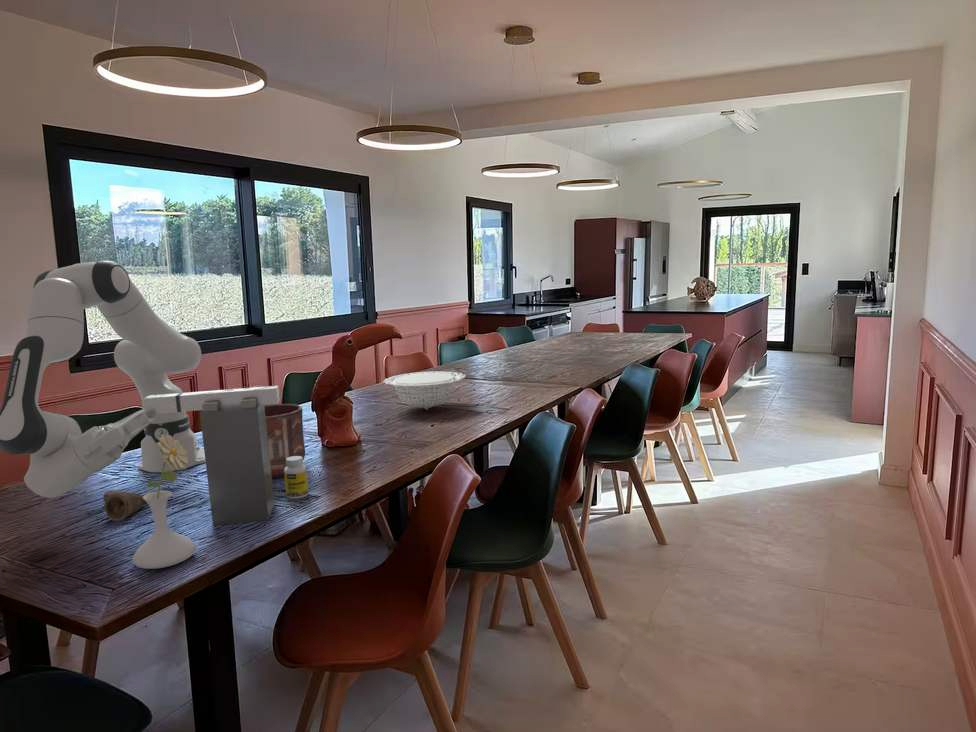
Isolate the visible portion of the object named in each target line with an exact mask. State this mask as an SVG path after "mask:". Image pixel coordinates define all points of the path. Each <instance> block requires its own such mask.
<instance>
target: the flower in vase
mask: <svg viewBox="0 0 976 732" xmlns="http://www.w3.org/2000/svg"><path fill="white" fill-rule="evenodd" d="M159 441H160V442H158V446H159V447H158V449H159V451H160V455H161V456H163V461H164V464H163V467H162V472H160V473H161V474H160V478H159V482H155V481H151V480H148V481H147V485H146V487H147V488H157V490H156V491H152V492H149V493H145V495H142V496H143V499H144V500H145V501H146V502H147V504H148V506H149V508H150V510H151V513H152V517H153V521H154V522H153V523H154V530H153V533H152V534H151V535H150V537H148V539H147V540H145V541H144V542H143V544H141V546H139V547H138V548H137V549H136V550H135V552H134V554H133V556H132V559H131V560H132V563H133V565H134V566H135V567H137V568H141V569H146V570H147V569H149V570H153V569H155V570H157V569H163V568H167V567H171V566H174V565H177V564H180V563H181V562H184V561H185V560H187V559H189V558H190V557H192V556H193V554H194V553H195V552H196V549H197V546H196V544H195V543H194V541H193V540H192V539H190V538H189V537H187V536H185V535H182V534H181V533H178V532H175V531H173V530H172V529H171V528H170V527H169V524H168V520H167V507H168V506H167V505H168V500H169V498H170V496H171V495H172V492H171V490H161V486H162V484H163V482H162V481H163V480H165V481H166V482H168V483H173V482H175V480H177V478H178V474H177V473H176V472H175V471H171V470H166V471H165V472H163V471H164V467H165V464H166V463H167V464H168V465H170V466H171V468H172V469H174V468H176V469H177V470H176V471H178V470H179V468H180V470H186V469H187V468H186V467H185V465H184V463H186V464H188V463H189V462H188V457H186V456H185V455H187V451H186V450H184V448H183V446H181V445H180V442H179V441H178V440H176V441H175V440H174V439H173V438H172V436H169V435H168V434H167V435H166V436H165V437H164V436H163V435H161V438H159ZM180 470H179V471H180Z"/></svg>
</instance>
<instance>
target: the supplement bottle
mask: <svg viewBox="0 0 976 732" xmlns="http://www.w3.org/2000/svg"><path fill="white" fill-rule="evenodd" d="M303 462H304V460H303V458H302V457H301V456H292V457H288V458H286V465H287V467H286V468H285V469H284V476H285V477H284V484H285V496H286V498H287V499H290V500H297V499H302V498H305V497H307V496H308V495H309V484H308V483H309V482H308V471H307V467H306V465H305V464H304V463H303Z"/></svg>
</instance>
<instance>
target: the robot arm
mask: <svg viewBox="0 0 976 732" xmlns="http://www.w3.org/2000/svg"><path fill="white" fill-rule="evenodd" d="M94 307H96V308H97V309H98V310H99V312H100V313H101V315H102V316H103V318H105V320H106V322H107V323H108V325H110V327H111V329H112V330H113V331H114V332H115V333H116V334H117V336H119V337H120V338H121V339H122V340H120V341H119V342H118V343H117V344H116V346H115V348H114V350H113V360H114V362H115V364H116V367H118V369H120V370H121V371H123V372H124V373H125V374H126V375H128V377H130V379H131V381H132V382H133V384H134V385H135V388H136V389H137V391H138V392H139V395H140V398H141V399H140V400H141V404H142V409H140V410H137V411H135V412H133V413H132V414H130V415H128V416H126V417H123V418H122V419H120V420H118V421H116V422H113V423H112V422H110V423H108V424H105V425H99V426H96V425H95V426H92V427H91V428H89V429H87V430H86V431H85V432H83V431H82V429H81V426H80V424H79V423H78V421H77V420H76V419H75V418H73V417H70V416H68V415H64V414H60V413H56V412H49V411H44V410H42V409H41V408H40V406H39V398H40V392H41V386H42V381H43V376H44V371H45V369H46V368H47V367H48V366H49V365H50V364H53V363H58V362H63V361H65V360H69V359H71V358H73V357H74V356H75V355H77V353H79V351H80V350H81V349H82V345H83V343H84V338H85V337H84V336H85V335H84V334H85V331H84V330H85V314H84V310H87V309H90V308H94ZM201 359H202V350H201V347H200V345H199V343H198V341H197V340H195V339H194V338H193V337H189V336H187V335H185V334H183V333H181V332H179V331H178V330H176V329H175V328H173V327H171V326H170V325H169V324H168V323H166V322H165V321H164V320H163V319H162V318H160V317H159V316H158V314H156V312H155V311H154V309H153V308H152V307H151V306H150V304H149V303H148V301H147V300H146V299H145V297H144V296H143V294H142V292H141V291H140V290H139V289H138V288H137V285H135V283H134V282H133V281H132V280H131V279H130V277H129V274H128V272H127V270H126V269H125V267H123V266H122V265H121V264H119V263H118V262H116V261H112V260H98V261H89V262H81V263H74V264H72V265H67V266H63V267H59V268H57V269H56V268H55V269H54V268H52V269H48V270H46V271H43V272H41V273H40V274H38V276H37V277H36V279H35V281H34V284H33V290H32V293H31V296H30V301H29V306H28V312H27V321H26V332H25V335H24V337H23V338H22V339H21V340H19V341H18V343H17V344H16V346H15V349H14V351H13V354H12V359H11V360H10V367H9V371H8V374H7V375H8V376H7V380H6V384H5V390H4V395H3V400H2V403H1V407H0V450H1V451H2V452H3V453H5V454H8V455H22V456H23V455H25V456H26V455H30V461H29V467H28V470H27V471H26V472H25V475H24V477H23V481H24V483H25V485H26V486H27V488H28V489H29V490H30V491H31V492H32V493H35V494H36V495H37V496H39V497H40V496H41V497H42V498H49V499H50V498H51V499H53V498H57V497H59V496H61V495H64V494H66V493H67V492H69V491H72V490H73V489H75V488H77V487H78V486H79V485H80V486H81V484H84V483H85V481H87V479H88V478H89V477H91V476H92V475H93V474H96V473H99V472H101V471H103V470H104V469H106V468H107V467H108V466H111V464H113V463H115V462H116V461H118V460H119V459H120V458H121V456H122V454H123V452H124V450H125V449H126V448H127V446H128V445H129V442H130V441H131V440H133V439H134V438H135V437H136V436H137V435H138V434H140V433H141V432H142V431H143V430H144V435H145V437H144V438H143V439H142V440H141V441H140V448H141V449H140V451H141V463H139V464H138V465H137V470H143V471H146V472H148V473H161V472H162V467H163V464H164V461H163V456H161V455H160V451H159V449H158V447H159V446H158V442H160V441H159V438H161V435H163V436H164V437H165V436H166V435H167V434H168V435H169V436H172V438H173V439H174V440H175V441H176V440H178V441H179V442H180V445H181V446H183V448H184V450H186V451H187V455H185V456H186V457H188V462H189V463H188V464H186V463H184V465H185V467H186V469H187V468H191V467H193V466H197V465H201V464H204V463H206V461H205V453H204V447H199V445H198V439H197V438H198V437H197V435H196V434H195V433H194V431H192V430H191V425H190V415H189V414H187V411H184V412H172V413H160V414H147V413H145V408H144V400H143V398H145V397H147V396H149V395H162V394H175V393H184V392H183V390H182V389H181V388H180V387H179V386H177V385H175V384H174V383H173V382H172V381H171V380H170V379H169V377H168V375H167V374H180V373H185V372H189V371H193V370H195V369H196V368H197V367H198V366H199V364H200V362H201ZM166 470H171V471H173V472H175V471H178V470H177V469H176V468H174V469H172V468H171V466H170V465H168V464H167V463H166V464H165V467H164V471H163V473H164V472H165V471H166ZM180 470H181V469H180V468H179V471H180Z"/></svg>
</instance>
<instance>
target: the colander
mask: <svg viewBox="0 0 976 732" xmlns="http://www.w3.org/2000/svg"><path fill="white" fill-rule="evenodd" d="M466 377H467V375H466V374H463V373H462V372H457V371H456V372H454V371H443V370H439V371H432V370H430V371H419V372H418V371H417V372H409V373H402V374H401V373H400V374H398V375H397V374H396V375H393V376H392V375H391V376H390V377H388V378H384V380H382V383H384V384H386V385H390V386H394V389H395V391H396V394H397V396H398V398H399V399H400V401H401V402H403V403H404V404H406V405H409V406H412V407H417V408H420V409H422V408H423V409H425V411H428V410H429V408H432V407H433V408H434V407H436V406H437V405H441V404H444V403H446V402H447V401H448V400H450V399H451V397H452V395H453V394H454V390H455V386H456V382H459V381H463V379H465V378H466ZM409 393H410V394H409Z"/></svg>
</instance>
